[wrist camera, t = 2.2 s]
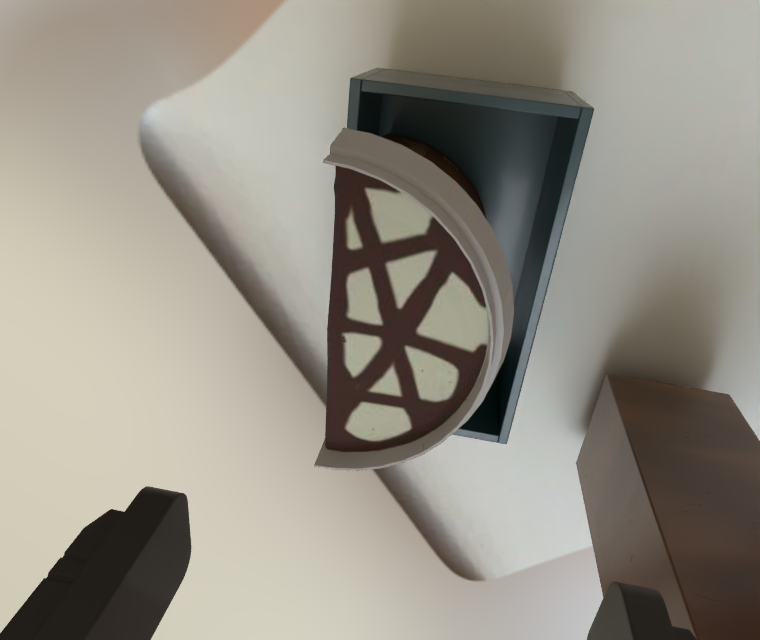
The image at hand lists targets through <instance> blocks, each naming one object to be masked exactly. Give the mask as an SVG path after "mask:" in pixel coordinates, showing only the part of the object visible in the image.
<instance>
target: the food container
mask: <svg viewBox="0 0 760 640" xmlns="http://www.w3.org/2000/svg"><path fill="white" fill-rule="evenodd" d="M323 163H326V164H331V165H335V166H336V177H335V184H334V192H335V223H334V242H333V260H332V277H331V290H330V303H329V315H328V328H327V343H328V373H327V407H326V435H325V436H326V437H325V441H324V443H323V445H322V448H321V450H320V453H319V455H318V458H317V460H316V462H315V465H314V467H319V468H325V469H332V470H356V471H359V470H369V469H378V468H384V467H388V466H392V465H396V464H400V463H404V462H406V461H408V460H411V459H413V458H416V457H418V456H420V455H423V454H425V453H426V452H428V451H429V450H431V449H433V448H434V447H436V446H438V445H439V444H441V443H442V442H444V441H445V440H446V439H447V438H448V437H449V436H451V435H452V434H453V433H454V432H455V431H456V430H457V429H459V428H460V427H461V426H462V425H463V424H464V423H465V422H467V421H468V419H469V418H470V417H471V416H472V414H473V413H474V412H475V411H476V409H477V408H478V407H479V406H480V404H481V403H482V402H483V400H484V398H485V396H486V394H487V393H488V391H489V389H490V387H491V385H492V383H493V381H494V379H495V377H496V375H497V373H498V371H499V369H500V367H501V365H502V363H503V361H504V358H505V355H506V352H507V349H508V345H509V342H510V339H511V333H512V324H513V316H514V304H513V289H512V282H511V278H510V274H509V270H508V265H507V261H506V257H505V255H504V253H503V251H502V248H501V246H500V244H499V241H498V239H497V237H496V235H495V232H494V230H493V229H492V227H491V226H490V224H489V222H488V221H487V219H486V215H485V211H484V207H483V204H482V202H481V199H480V197H479V195H478V193H477V190H476V188H475V187H474V185H473V184H472V182H471V181H470V179H469V178H468V176H467V175H466V174H465V173H464V172H463V171H462V170H461V168H460V167H459V166H458V165H457V164H456V163H455V162H454V161H453V160H451V159H450V158H449V157H447V156H446V155H445V154H444V153H442V152H441V151H439V150H438V149H436V148H434V147H432V146H430V145H429V144H427V143H425V142H422V141H419V140H417V139H414V138H411V137H408V136H403V135H398V134H393V133H389V134H386V135H383V136H380V137H379V136H377V135H374V134H371V133H367V132H362V131H357V130H352V129H347V128H343V129H342V131H341V132H340V133H339V135H338V136H337V138H336V139H335V140H334V142H333V143H332V144H331V146H330V154H329V155H328V156H327V157H326V158H325V159H324V160H323Z"/></svg>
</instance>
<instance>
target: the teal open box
mask: <svg viewBox="0 0 760 640" xmlns="http://www.w3.org/2000/svg"><path fill="white" fill-rule="evenodd" d="M593 111H594V108H593V107H591V106H590V105H589V104H587V103H586V102H585V101H583V100H582V99H581V98H580V97H578V96H577V95H576V94H574V93H573V92H571V91H563V90H555V89H547V88H539V87H530V86H522V85H514V84H506V83H498V82H490V81H482V80H474V79H465V78H457V77H449V76H441V75H433V74H425V73H417V72H408V71H400V70H392V69H384V68H376V69H373V70H370V71H368V72H365V73H363V74H360V75H357V76H355V77H352V78H351V79H350V91H349V105H348V119H347V129H352V130H357V131H362V132H367V133H371V134H374V135H377V136H379V137H380V136H383V135H386V134H389V133H393V134H398V135H403V136H408V137H411V138H414V139H417V140H419V141H422V142H425V143H427V144H429V145H430V146H432V147H434V148H436V149H438V150H439V151H441V152H442V153H444V154H445V155H446V156H447V157H449V158H450V159H451V160H453V161H454V162H455V163H456V164H457V165H458V166H459V167H460V168H461V170H462V171H463V172H464V173H465V174H466V175H467V176H468V178H469V179H470V181H471V182H472V184H473V185H474V187H475V188H476V190H477V193H478V195H479V197H480V199H481V202H482V204H483V207H484V211H485V215H486V219H487V221H488V222H489V224H490V226H491V227H492V229H493V230H494V232H495V235H496V237H497V239H498V241H499V244H500V246H501V248H502V251H503V253H504V255H505V257H506V261H507V265H508V270H509V274H510V278H511V282H512V289H513V304H514V316H513V324H512V333H511V339H510V342H509V345H508V349H507V352H506V355H505V358H504V361H503V363H502V365H501V367H500V369H499V371H498V373H497V375H496V377H495V379H494V381H493V383H492V385H491V387H490V389H489V391H488V393H487V394H486V396H485V398H484V400H483V402H482V403H481V404H480V406H479V407H478V408H477V409H476V411H475V412H474V413H473V414H472V416H471V417H470V418H469V419H468V421H467V422H465V423H464V424H463V425H462V426H461V427H460V428H459V429H457V430H456V431H455V432H454V433H453V434H454V435H459V436H465V437H470V438H475V439H481V440H486V441H492V442H498V443H503V444H507V441H508V437H509V433H510V429H511V425H512V421H513V418H514V414H515V410H516V406H517V402H518V399H519V395H520V391H521V387H522V383H523V379H524V376H525V372H526V368H527V364H528V360H529V356H530V353H531V349H532V345H533V341H534V337H535V333H536V330H537V326H538V322H539V318H540V314H541V310H542V307H543V303H544V299H545V295H546V291H547V287H548V284H549V280H550V276H551V272H552V268H553V265H554V261H555V257H556V253H557V249H558V245H559V242H560V238H561V234H562V230H563V226H564V222H565V219H566V215H567V211H568V207H569V203H570V199H571V196H572V192H573V188H574V184H575V180H576V176H577V173H578V169H579V165H580V161H581V157H582V154H583V150H584V146H585V142H586V138H587V134H588V131H589V127H590V123H591V119H592V115H593Z"/></svg>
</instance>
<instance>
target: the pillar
mask: <svg viewBox="0 0 760 640" xmlns="http://www.w3.org/2000/svg"><path fill="white" fill-rule="evenodd" d="M576 465H577V469H578V474H579V479H580V484H581V489H582V494H583V499H584V504H585V509H586V514H587V519H588V523H589V528H590V533H591V538H592V543H593V548H594V552H595V557H596V563H597V568H598V572H599V577H600V582H601V587H602V592H603V597H604V596H605V594H606V591H607V589H608V587H609V585H610V584H611V583H612V582H613V581H616V582H621V583H626V584H631V585H636V586H641V587H646V588H651V589H655V590H658V591H659V592H660V593H661V595H662V597H663V599H664V602H665V605H666V608H667V611H668V614H669V618H670V621H671V624H672V626H674V627H679V628H684V629H689V630H690V631H691V632H692V634H693V635H694V637H695V638H696V639H697V640H760V441H759V439H758V438H757V436H756V435H755V433H754V432H753V430H752V429H751V427H750V426H749V424H748V423H747V421H746V419H745V418H744V416H743V415H742V413H741V412H740V410H739V409H738V407H737V406H736V404H735V403H734V401H733V400H732V398H731V397H730V395H728V394H723V393H717V392H712V391H706V390H700V389H694V388H688V387H682V386H676V385H670V384H664V383H659V382H653V381H647V380H641V379H635V378H629V377H623V376H617V375H611V374H607V375H606V377H605V380H604V383H603V386H602V389H601V392H600V394H599V397H598V400H597V403H596V406H595V409H594V412H593V415H592V418H591V421H590V424H589V427H588V430H587V433H586V436H585V438H584V441H583V444H582V447H581V450H580V453H579V456H578V459H577V462H576Z"/></svg>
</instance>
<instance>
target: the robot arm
mask: <svg viewBox="0 0 760 640" xmlns="http://www.w3.org/2000/svg"><path fill="white" fill-rule="evenodd" d="M190 555H191V538H190V525H189V512H188V501H187V497H186V495H185V494H184V493H178V492H173V491H168V490H163V489H158V488H154V487H145V488H143V489H142V490H141V491H140V492H139V493H138V494H137V496H136V497H135V499H134V500H133V501H132V502H131V504H130V505H129V507H128V508H127V509H126V511H125V512H122V511H117V510H113V509H111V510H109V511H108V512H106V513H105V514H103V515H102V516H101V517H99V518H98V519H96V520H95V521H94V522H92V523H91V524H89V525H88V526H86V527H85V528H84V529H83V530H82V531H81V533H80V534H79V535H78V536H77V538H76V539H75V540H74V541H73V543H72V544H71V545H70V546H69V548H68V549H67V550H66V551H65V554H64V556H63V558H60V559H59V560H58V561H57V563H56V564H55V565H54V567H53V568H52V569H51V570H50V572H49V573H48V577H47V578H46V579H45V578H44V579H43V581H42V582H41V583H40V584H39V585H38V587H37V588H36V589H35V591H34V592H33V593H32V594H31V595H30V597H29V598H28V599H27V601H26V602H25V603H24V604H23V606H22V607H21V608H20V609H19V611H18V612H17V613H16V614H15V616H14V617H13V618H12V619H11V621H10V622H9V623H8V625H7V626H6V627H5V628H4V630H3V631H2V632H1V633H0V640H151V638H152V636H153V634H154V632H155V630H156V629H157V627H158V625H159V623H160V621H161V619H162V617H163V616H164V614H165V612H166V610H167V608H168V606H169V605H170V603H171V601H172V599H173V597H174V595H175V593H176V592H177V590H178V588H179V586H180V584H181V582H182V580H183V578H184V576H185V573H186V571H187V568H188V564H189V560H190ZM587 640H697V639H696V638H695V637H694V635H693V634H692V632H691V631H690V630H689V629H684V628H679V627H674V626H672V624H671V621H670V618H669V614H668V611H667V608H666V605H665V602H664V599H663V597H662V595H661V593H660V592H659V591H658V590H655V589H651V588H646V587H641V586H636V585H631V584H626V583H621V582H616V581H613V582H612V583H611V584H610V585H609V587H608V589H607V591H606V594H605V596H604V598H603V601H602V603H601V605H600V607H599V610H598V612H597V614H596V617H595V619H594V621H593V624H592V626H591V628H590V631H589V633H588V637H587Z"/></svg>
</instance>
